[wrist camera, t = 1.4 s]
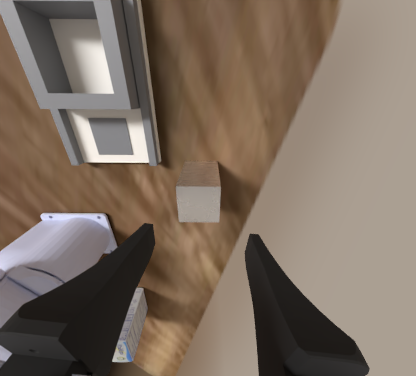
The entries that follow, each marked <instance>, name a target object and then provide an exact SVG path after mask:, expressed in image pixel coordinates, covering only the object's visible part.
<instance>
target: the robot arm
mask: <svg viewBox="0 0 416 376" xmlns="http://www.w3.org/2000/svg"><path fill="white" fill-rule="evenodd" d="M99 216H100V217H99ZM41 218H42V221H41V222H40V223H38V224H37V225H36V226H34V227H33V228H31V229H30V230H29V231H27V232H26V233H25V234H23V235H22V236H21V237H19V238H18V239H16V240H15V241H14V242H12V243H11V244H10V245H8V246H7V247H5V248H4V249H3V250H2V251H1V252H0V376H106V375H107V374H108V373H109V370H110V367H111V363H112V360H113V357H114V353H115V350H116V347H117V343H118V340H119V337H120V334H121V331H122V328H123V324H124V321H125V319H126V316H127V313H128V310H129V307H130V304H131V301H132V298H133V296H134V293H135V291H136V288H137V286H138V284H139V282H140V279H141V277H142V275H143V273H144V271H145V269H146V266H147V264H148V262H149V260H150V258H151V255H152V252H153V249H154V246H155V238H154V230H153V224H147V223H144V224H143V225H142V226H141V227H140V228H139V229H138V230H137V231H136V232H134V233H133V234H132V235H131V236H130V237H129V238H128V239H127V240H126V241H124V242H123V243H122V244H121V245H120V246H119V247H117V244H116V241H115V238H114V235H113V232H112V229H111V226H110V223H109V220H108V217H107V215H106V214H104V213H43V214H41ZM103 253H110V254H109V255H107V256H106V257H105V258H103V259H102V260H101V261H99V262H98V260H99V259H100V257H101V256H102V254H103ZM97 262H98V263H97ZM245 262H246V270H247V275H248V280H249V286H250V291H251V295H252V301H253V309H254V318H255V329H256V340H257V354H258V367H259V368H258V369H259V376H365V375H367V374H368V372H369V367H368V365H367V363H366V361H365V359H364V357H363V355H362V353H361V351H360V350H359V348H358V346H357V345H356V343H355V341H354V340H353V339H351V338H350V337H349V336H348V335H347V334H346V333H344V332H343V331H342V330H341V329H340V328H338V327H337V326H336V325H335V324H334V323H333V322H331V321H330V320H329V319H328V318H327V317H326V316H325V315H323V313H321V312H320V311H319V310H318V309H317V308H316V307H315V306H314V305H313V304H312V303H311V302H310V301H309V300H308V299H307V298H306V297H305V296H304V295H303V294H302V293H301V292H300V290H299V289H298V288H297V287H296V286H295V285H294V284H293V283H292V281H291V280H290V279H289V278H288V277H287V275H286V274H285V273H284V271H283V270H282V269H281V268H280V266H279V265H278V264H277V262H276V261H275V259H274V258H273V256H272V255H271V254H270V252H269V251H268V249H267V247H266V246H265V244H264V243H263V241H262V239H261V238H260V236H259V235H258V234H250V235H249V239H248V243H247V246H246V250H245Z"/></svg>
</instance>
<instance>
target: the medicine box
mask: <svg viewBox="0 0 416 376" xmlns="http://www.w3.org/2000/svg"><path fill="white" fill-rule="evenodd" d="M147 311H148V307H147V303H146V298H145V294H144V289H143V288H139V287H137V288H136V291H135V293H134V296H133V298H132V301H131V304H130V307H129V310H128V313H127V316H126V319H125V321H124V324H123V328H122V331H121V334H120V337H119V340H118V343H117V347H116V350H115V353H114V357H113V360H112V362H130V361H133V360H134V357H135V354H136V350H137V347H138V343H139V339H140V336H141V332H142V329H143V325H144V322H145V318H146V314H147Z"/></svg>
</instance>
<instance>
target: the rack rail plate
mask: <svg viewBox="0 0 416 376" xmlns="http://www.w3.org/2000/svg"><path fill="white" fill-rule="evenodd" d="M0 13H1V16H2V18H3V21H4V23H5V25H6V28H7V30H8V33H9V35H10V37H11V40H12V42H13V44H14V47H15V49H16V52H17V54H18V56H19V59H20V61H21V64H22V66H23V68H24V71H25V73H26V76H27V78H28V80H29V83H30V85H31V88H32V90H33V92H34V95H35V97H36V100H37V102H38V104H39V107H40V109H50V111H51V113H52V116H53V119H54V121H55V124H56V126H57V129H58V131H59V134H60V136H61V139H62V141H63V144H64V146H65V149H66V152H67V154H68V157H69V159H70V162H71V164H72V165H80V164H82V163H84V162H103V163H149V164H150V166H157V165H158V163H160V162H161V154H160V146H159V138H158V130H157V123H156V115H155V107H154V99H153V91H152V84H151V76H150V68H149V60H148V53H147V45H146V37H145V29H144V21H143V14H142V6H141V0H0Z"/></svg>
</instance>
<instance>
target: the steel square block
mask: <svg viewBox="0 0 416 376" xmlns="http://www.w3.org/2000/svg"><path fill="white" fill-rule="evenodd" d="M176 194H177V205H178V215H179V222H219V216H220V195H221V184H220V177H219V170H218V163H217V161H185V163H184V166H183V169H182V171H181V174H180V177H179V179H178V182H177V184H176Z"/></svg>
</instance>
